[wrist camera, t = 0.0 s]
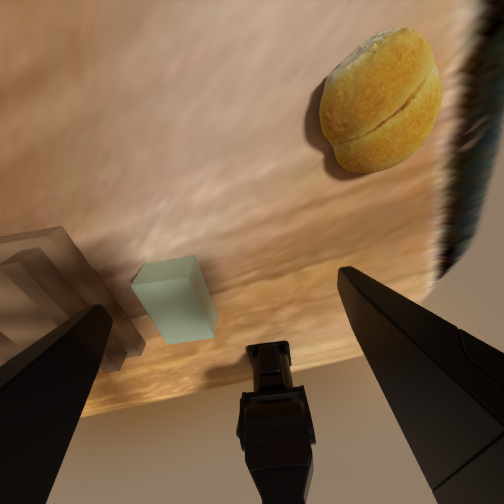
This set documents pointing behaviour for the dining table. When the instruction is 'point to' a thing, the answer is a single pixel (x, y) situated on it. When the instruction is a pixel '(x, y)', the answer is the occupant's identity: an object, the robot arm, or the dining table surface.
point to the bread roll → (381, 101)
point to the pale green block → (176, 299)
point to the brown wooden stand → (54, 295)
